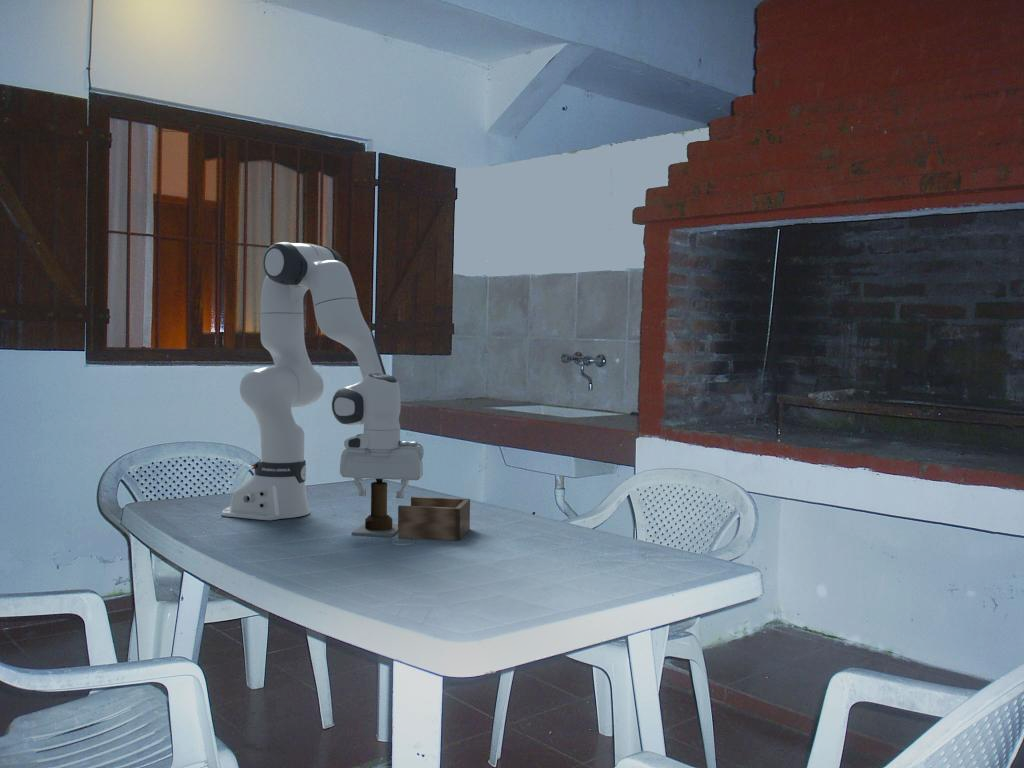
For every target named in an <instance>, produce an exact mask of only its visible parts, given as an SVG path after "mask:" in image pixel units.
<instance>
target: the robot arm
mask: <svg viewBox="0 0 1024 768" xmlns="http://www.w3.org/2000/svg"><path fill="white" fill-rule="evenodd" d="M263 269H264V272H265V275H266V276H265V277H264V279H263V284H262V287H261V295H260V305H259V306H260V310H259V311H260V312H259V314H260V315H259V317H260V318H259V320H260V321H259V322H260V324H259V325H260V342H261V345H262V347H263V348H264V349H266V350H267V351H268V352H269V354H270V356H271V358H272V361H273V364H274V366H268V367H267V366H265V367H260V368H257V369H253V370H251V371H249V372H247V373H245V374H244V375H243V377H242V379H241V381H240V384H239V393H240V397H241V399H242V402H243V403H244V404H245V405H246V406H247V407H248V408H250V409H251V411H252V412H253V414H254V416H255V419H256V421H257V423H258V428H259V433H260V460H259V461H257V462H255V463H253V464H252V465H251V466H252V468H251V469H252V470H254V475H252V476H251V477H250V478H248V479H247V480H245V481H244V482H243V483H242V484H240V485H239V486H238V487H237V488H235V489H234V491H233V494H232V496H231V501H230V506H228V507H226V508H224V509H223V510H222V512H221V516H222V515H223V517H231V518H241V519H251V520H260V521H261V520H262V521H275V520H280V519H291V518H293V519H294V518H298V517H303V516H307V515H309V514H310V513H311V510H310V507H309V502H308V498H307V497H308V496H307V491H306V481H307V480H306V478H307V461H306V459H305V432H304V429H303V427H302V426H300V425H299V424H297V423H296V421H295V418H294V416H293V412H292V408H301V407H306V406H308V405H311V404H313V403H315V402H317V401H319V400H320V398H321V397H322V395H323V392H324V387H325V386H324V380H323V378H322V376H321V374H320V372H318V371H317V370H316V369H315V367H314V366H313V365H312V362H311V360H310V357H309V354H308V350H307V348H306V342H305V319H304V318H305V317H304V316H305V315H304V296H305V294H306V292H307V291H308V290H309V291H310V294H311V297H312V298H311V300H312V303H313V304H312V305H313V311H314V316H315V317H314V318H315V321H316V323H317V326H318V328H319V331H321V332H322V333H323V334H324V335H325V336H326V337H328V338H329V339H331V340H333V341H335V342H337V343H340V344H341V345H343V346H344V347H346V348H347V349H349V351H351V352H352V353H353V354H354V356H355V358H356V361H357V364H358V367H359V371H360V374H361V377H362V380H360V381H358V382H357V383H354V384H351V385H348V386H347V385H346V386H345V387H341V388H339V389H338V390H337V391H336V392H335V393H334V395H333V397H332V401H331V411H332V414H333V416H334V418H335V419H336V421H337V422H339V423H340V424H341V425H349V426H356V425H363V433H360V434H357V435H354V436H351V437H348V438H346V439H345V440H344V441H343V446H344V448H345V449H343V450H342V453H341V455H340V463H339V474H340V476H341V477H342V478H351V479H353V478H354V480H353V482H354V485H355V486H356V488H357V489H358V497H366V496H367V488H364V487H363V484H362V482H363V479H372V480H373V479H375V480H376V479H383V480H400V485H401V487H400V489H398V490H396V491H395V493H396V496H395V497H396V499H403V498H404V496H405V490H406V488H407V487H408V485H409V481H419V480H420V479H422V478H423V475H424V467H423V458H424V453H425V452H424V450H425V449H424V446H422V444H420V443H418V442H417V441H404V440H403V441H401V424H400V420H399V419H400V415H401V406H402V405H401V402H402V401H401V400H402V399H401V390H400V389H401V387H400V384H399V381H398V379H397V378H396V377H395V376H393V375H390V374H387V373H386V369H385V366H384V363H383V360H382V356H381V354H380V353H381V352H380V350H379V347H378V344H377V341H376V338H375V336H374V333H373V331H372V330H371V328H370V326H368V324H367V323H366V320H365V319H364V316H363V314H362V313H363V312H362V311H361V308H360V305H359V304H360V303H359V300H358V295H357V291H356V286H355V284H354V281H353V280H354V279H353V277H352V275H351V272H350V270H349V267H348V266H347V265H346V264H345V263H344V262H343V259H342V257H341V255H340V254H339V253H338V251H336V250H334V249H332V248H330V247H328V246H324V245H322V246H321V245H317V244H313V243H307V242H302V243H299V242H294V243H293V242H287V241H281V242H276V243H273V244H272V245H270V246H269V247H268V248H267V249H266V251H265V253H264V257H263Z"/></svg>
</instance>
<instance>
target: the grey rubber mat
mask: <svg viewBox="0 0 1024 768" xmlns="http://www.w3.org/2000/svg"><path fill="white" fill-rule="evenodd" d="M396 534H398V523H393V522H392V528H391V529H388V530H369V529H366V528H365V523H363V524H362V525H360V526H359V527H357V528H355V529H354V530H353V531H352V532H351V536H365V537H366V536H367V537H368V536H370V537H387V538H392V537H394V536H395V535H396Z"/></svg>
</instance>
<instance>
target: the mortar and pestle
mask: <svg viewBox="0 0 1024 768" xmlns="http://www.w3.org/2000/svg"><path fill="white" fill-rule="evenodd" d="M383 480H384V479H375V481H372V482H371V483H370V514H369V515H368V516H367V517H366V518H365V519H364V521H365V522H364V524H365V528H366V529H369V530H388V529H391V528H392V523H393V518H392V517H391V516H390V515H388V482H387V481H383Z"/></svg>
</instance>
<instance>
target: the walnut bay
mask: <svg viewBox="0 0 1024 768" xmlns="http://www.w3.org/2000/svg"><path fill="white" fill-rule="evenodd" d="M397 506H398V507H397V524H398V533H397V537H398V538H399V539H417V540H418V539H419V540H438V541H441V540H442V541H461V539H462V538H463V537H464V536H465V535H466V534H467V532H469V531H470V528H471V527H470V526H471V525H470V524H471V522H470V520H471V517H470V516H471V499H470V498H457V497H456V498H453V497H452V498H451V497H433V496H432V497H431V496H428V497H427V496H411V497H410V505H397Z"/></svg>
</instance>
